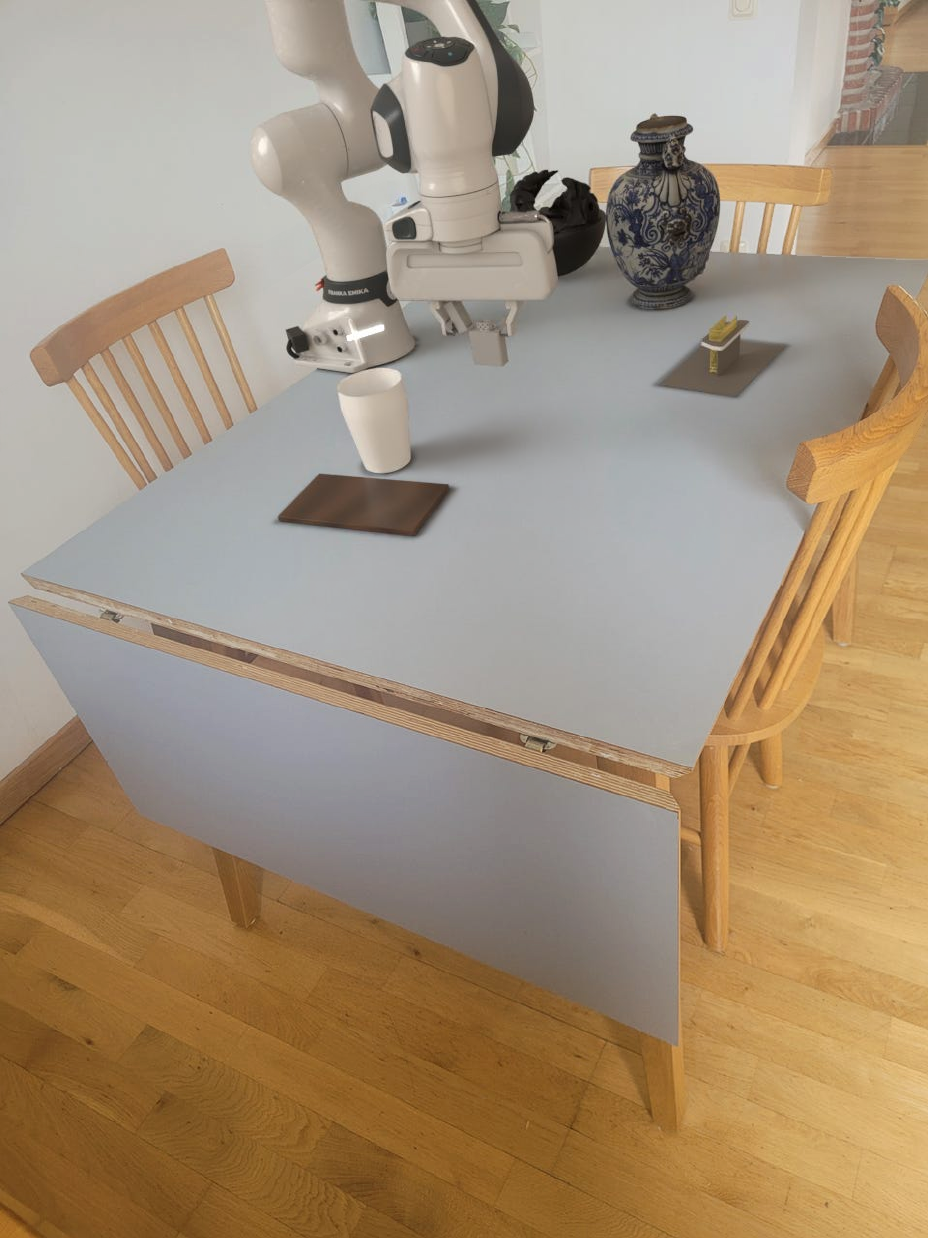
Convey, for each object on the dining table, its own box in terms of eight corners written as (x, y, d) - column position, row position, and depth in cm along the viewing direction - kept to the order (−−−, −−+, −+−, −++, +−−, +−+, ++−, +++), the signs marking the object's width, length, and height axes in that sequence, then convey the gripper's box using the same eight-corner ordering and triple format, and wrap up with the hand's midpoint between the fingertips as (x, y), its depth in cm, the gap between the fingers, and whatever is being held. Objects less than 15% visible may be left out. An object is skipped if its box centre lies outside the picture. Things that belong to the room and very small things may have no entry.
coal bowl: (507, 265, 179) (495, 167, 167) (602, 251, 176) (597, 150, 165) (509, 298, 163) (497, 193, 151) (614, 282, 161) (609, 174, 149)
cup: (428, 446, 121) (412, 366, 113) (405, 479, 115) (387, 397, 107) (371, 445, 124) (352, 367, 117) (346, 477, 118) (324, 397, 110)
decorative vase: (729, 312, 142) (738, 122, 124) (618, 328, 144) (611, 144, 126) (702, 271, 158) (706, 99, 141) (602, 286, 160) (594, 118, 143)
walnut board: (279, 521, 111) (277, 516, 111) (320, 478, 119) (319, 473, 118) (414, 536, 103) (413, 531, 103) (449, 489, 111) (448, 483, 110)
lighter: (509, 360, 104) (500, 295, 99) (502, 366, 103) (492, 301, 98) (460, 357, 108) (449, 293, 103) (453, 362, 107) (441, 299, 102)
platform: (658, 384, 125) (657, 341, 121) (710, 337, 135) (711, 296, 131) (736, 396, 119) (738, 351, 114) (785, 345, 129) (788, 302, 125)
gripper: (560, 200, 93) (568, 324, 101) (395, 208, 100) (416, 323, 109) (542, 218, 88) (552, 346, 97) (371, 225, 96) (395, 343, 105)
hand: (479, 334), depth 103 cm, fingers closed on lighter, 6 cm apart
